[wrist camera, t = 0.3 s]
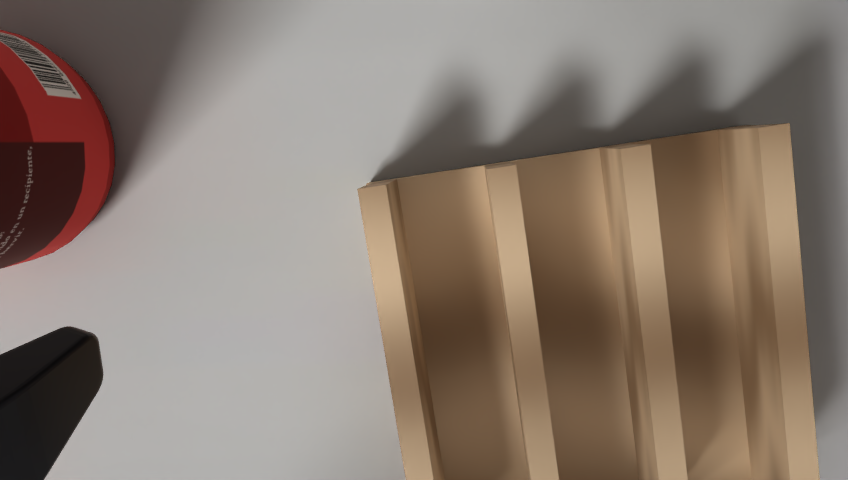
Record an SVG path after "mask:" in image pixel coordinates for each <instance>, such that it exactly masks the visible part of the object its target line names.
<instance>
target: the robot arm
mask: <svg viewBox="0 0 848 480" xmlns="http://www.w3.org/2000/svg"><path fill="white" fill-rule="evenodd" d="M102 380H103V367H102V361H101V354H100V347H99V341H98V338H97V337H96V336H95V334H93V333H91V332H87V331H84V330H81V329H78V328H75V327H70V326H69V327H63V328H60V329H57V330H55V331H53V332H51V333H48V334H46V335H44V336H42V337H39V338H37V339H35V340H33V341H30V342H28V343H26V344H24V345H21V346H19V347H17V348H15V349H12V350H10V351H8V352H5V353H3V354H1V355H0V480H44V479H45V477H46V476H47V474H48V473H49V471H50V469H51V468H52V466H53V464H54V463H55V461H56V460H57V458H58V456H59V455H60V453H61V451H62V450H63V448H64V446H65V445H66V443H67V442H68V440H69V438H70V437H71V435H72V433H73V432H74V430H75V428H76V427H77V425H78V424H79V422H80V420H81V419H82V417H83V415H84V414H85V412H86V410H87V409H88V407H89V406H90V404H91V402H92V401H93V399H94V397H95V396H96V394H97V392H98V391H99V389H100V386H101V384H102Z"/></svg>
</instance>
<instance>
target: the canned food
mask: <svg viewBox="0 0 848 480" xmlns="http://www.w3.org/2000/svg"><path fill="white" fill-rule="evenodd" d="M114 167H115V153H114V140H113V136H112V132H111V128H110V123H109V121H108V118H107V116H106V114H105V111H104V109H103V107H102V105H101V102H100V101H99V99H98V98H97V96H96V95H95V93H94V92H93V90H92V89H91V87H90V86H89V85H88V83H87V82H86V81H85V80H84V79H83V78H82V77H81V76H80V75H79V74H78V73H77V72H76V71H75V70H74V69H73V68H72V67H71V66H70V65H69V64H67V63H66V62H65V61H64V60H62V59H61V58H60V57H58V56H57V55H55V54H54V53H53V52H51V51H50V50H48V49H47V48H46V47H44V46H43V45H41V44H39V43H37V42H34V41H32V40H30V39H28V38H26V37H24V36H21V35H19V34H15V33H11V32H7V31H3V30H0V269H1V268H5V267H8V266H12V265H15V264H19V263H23V262H26V261H30V260H33V259H36V258H39V257H42V256H45V255H48V254H50V253H53V252H55V251H56V250H58V249H59V248H61V247H63V246H64V245H66V244H68V243H69V242H71V241H72V240H73V239H74V238H75V237H76V236H77V235H78V234H79V233H80V232H81V231H82V230H83V229H84V228H85V227H86V226H87V225H88V224H89V223H90V222H91V221H92V220H93V219H94V218H95V216H96V215H97V213H98V212H99V210H100V209H101V207H102V206H103V204H104V203H105V200H106V197H107V195H108V192H109V190H110V187H111V185H112V179H113V173H114Z"/></svg>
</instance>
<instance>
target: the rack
mask: <svg viewBox="0 0 848 480" xmlns="http://www.w3.org/2000/svg"><path fill="white" fill-rule="evenodd" d="M358 195H359V201H360V207H361V213H362V219H363V225H364V231H365V237H366V243H367V249H368V255H369V261H370V267H371V273H372V279H373V285H374V291H375V297H376V303H377V309H378V315H379V321H380V327H381V333H382V339H383V345H384V351H385V357H386V363H387V369H388V375H389V381H390V387H391V393H392V399H393V405H394V411H395V417H396V423H397V429H398V435H399V441H400V447H401V453H402V459H403V465H404V471H405V477H406V480H820V478H819V466H818V454H817V442H816V430H815V418H814V407H813V395H812V383H811V371H810V359H809V347H808V335H807V324H806V312H805V300H804V288H803V276H802V264H801V253H800V241H799V229H798V217H797V205H796V193H795V181H794V170H793V158H792V146H791V134H790V123H784V124H768V125H752V126H751V125H742V126H735V127H728V128H722V129H715V130H709V131H702V132H695V133H689V134H682V135H676V136H669V137H663V138H656V139H650V140H643V141H637V142H630V143H624V144H617V145H610V146H604V147H597V148H591V149H584V150H578V151H571V152H565V153H558V154H552V155H545V156H539V157H532V158H525V159H519V160H512V161H506V162H499V163H493V164H486V165H480V166H473V167H467V168H460V169H454V170H447V171H440V172H434V173H427V174H421V175H414V176H408V177H401V178H395V179H388V180H382V181H375V182H369V183H367V184H366V186H363V187H361V188H359V189H358Z"/></svg>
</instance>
